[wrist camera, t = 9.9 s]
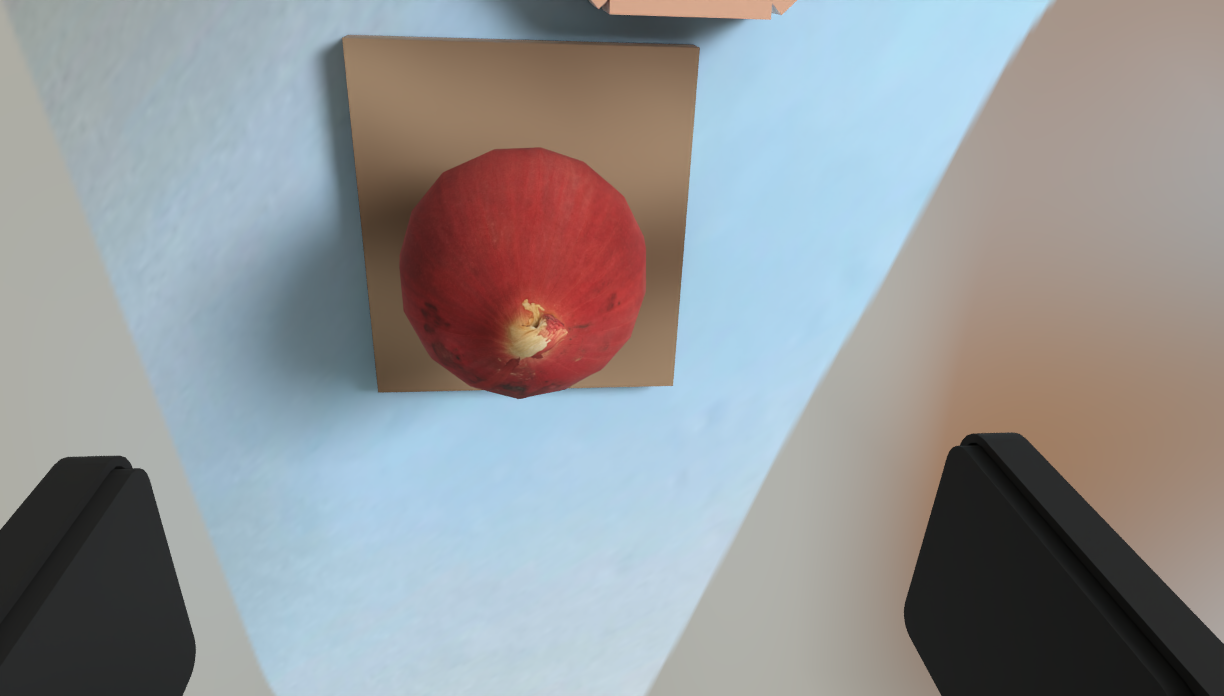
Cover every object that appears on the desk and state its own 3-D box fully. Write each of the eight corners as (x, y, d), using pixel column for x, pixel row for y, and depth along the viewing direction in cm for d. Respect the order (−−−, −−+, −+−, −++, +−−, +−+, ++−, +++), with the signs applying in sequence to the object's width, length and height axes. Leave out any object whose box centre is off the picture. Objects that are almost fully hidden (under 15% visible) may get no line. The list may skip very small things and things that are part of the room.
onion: (585, 342, 24) (617, 504, 17) (394, 290, 23) (343, 443, 16) (654, 159, 22) (723, 258, 15) (447, 88, 21) (415, 162, 14)
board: (347, 35, 21) (342, 37, 20) (693, 44, 22) (699, 48, 21) (381, 379, 25) (378, 392, 24) (668, 373, 26) (672, 385, 25)
